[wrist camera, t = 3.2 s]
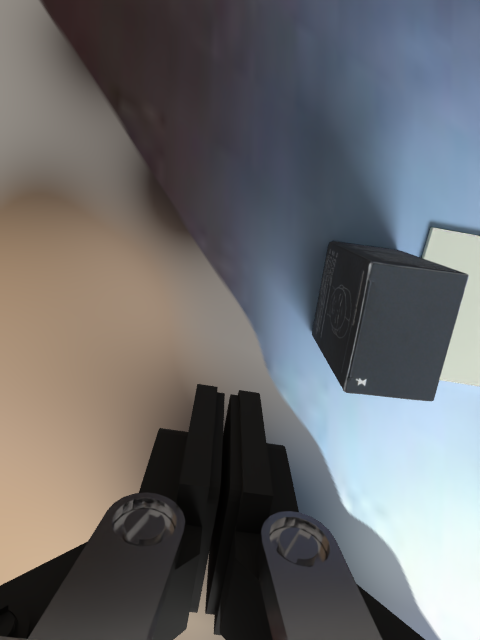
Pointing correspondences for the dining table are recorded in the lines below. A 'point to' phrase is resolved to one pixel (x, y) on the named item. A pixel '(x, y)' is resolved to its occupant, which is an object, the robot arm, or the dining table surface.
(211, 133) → the dining table surface
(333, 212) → the dining table surface
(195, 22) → the dining table surface
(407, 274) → the box
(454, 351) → the mat
